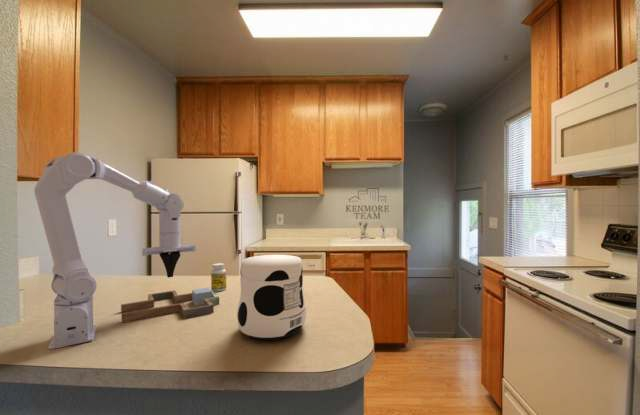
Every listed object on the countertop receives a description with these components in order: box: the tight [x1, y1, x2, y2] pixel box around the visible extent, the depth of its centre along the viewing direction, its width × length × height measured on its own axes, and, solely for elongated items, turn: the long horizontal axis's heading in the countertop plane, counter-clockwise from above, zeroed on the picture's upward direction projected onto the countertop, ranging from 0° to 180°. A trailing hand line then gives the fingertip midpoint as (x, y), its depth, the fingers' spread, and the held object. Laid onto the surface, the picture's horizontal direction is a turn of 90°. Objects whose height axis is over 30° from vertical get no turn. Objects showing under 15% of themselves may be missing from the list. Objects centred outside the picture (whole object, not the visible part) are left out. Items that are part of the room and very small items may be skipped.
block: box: [191, 287, 212, 307], centre depth 96 cm, size 5×5×4 cm
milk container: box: [236, 254, 307, 341], centre depth 75 cm, size 17×17×18 cm
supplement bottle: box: [210, 262, 227, 292], centre depth 110 cm, size 5×5×10 cm
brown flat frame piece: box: [120, 289, 220, 323], centre depth 91 cm, size 23×26×2 cm
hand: (170, 276), depth 90 cm, fingers closed
